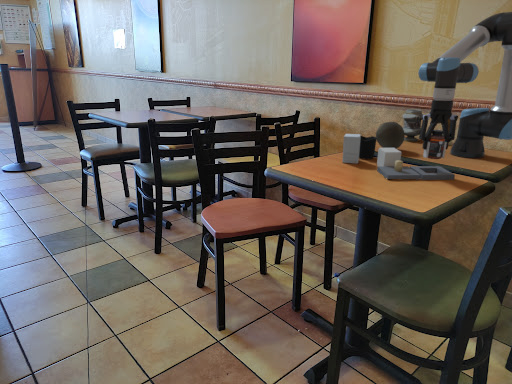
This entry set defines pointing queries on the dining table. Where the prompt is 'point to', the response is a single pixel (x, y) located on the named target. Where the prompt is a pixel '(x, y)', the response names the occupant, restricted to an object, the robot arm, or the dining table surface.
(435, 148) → the supplement bottle
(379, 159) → the block
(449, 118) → the hand bell
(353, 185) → the dining table surface
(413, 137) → the grey stone urn
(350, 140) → the supplement box
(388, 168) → the board
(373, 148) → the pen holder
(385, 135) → the dark grey ball
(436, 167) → the socket board
